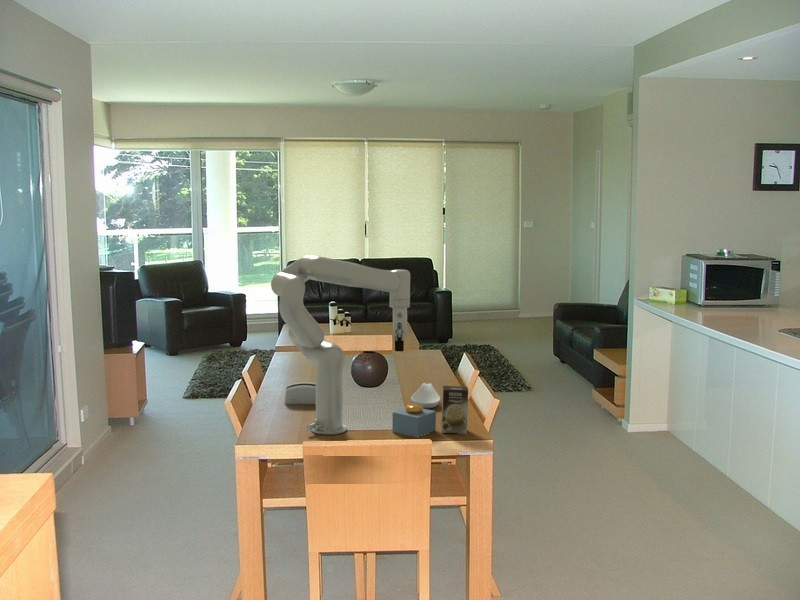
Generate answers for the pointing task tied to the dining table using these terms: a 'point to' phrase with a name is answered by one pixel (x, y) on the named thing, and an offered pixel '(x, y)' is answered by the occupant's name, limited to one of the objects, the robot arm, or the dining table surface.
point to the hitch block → (414, 422)
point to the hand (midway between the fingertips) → (399, 348)
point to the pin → (414, 409)
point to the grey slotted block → (301, 393)
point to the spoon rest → (426, 396)
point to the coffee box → (454, 409)
